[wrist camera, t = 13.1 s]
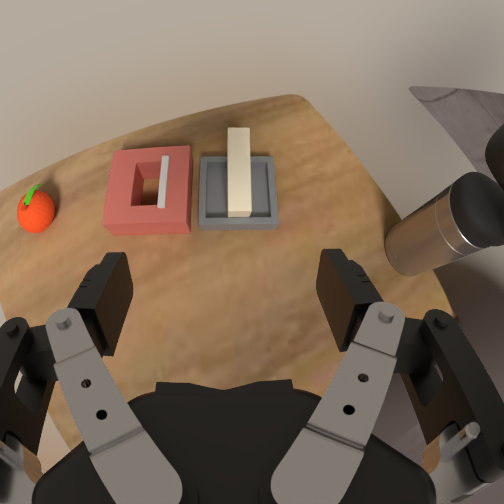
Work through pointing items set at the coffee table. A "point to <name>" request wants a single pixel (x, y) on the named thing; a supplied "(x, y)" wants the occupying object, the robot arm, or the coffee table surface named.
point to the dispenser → (131, 184)
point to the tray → (216, 195)
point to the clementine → (35, 211)
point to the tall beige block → (238, 173)
